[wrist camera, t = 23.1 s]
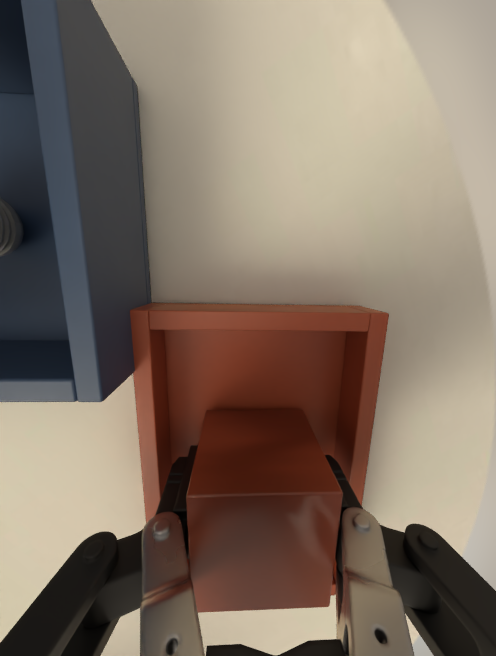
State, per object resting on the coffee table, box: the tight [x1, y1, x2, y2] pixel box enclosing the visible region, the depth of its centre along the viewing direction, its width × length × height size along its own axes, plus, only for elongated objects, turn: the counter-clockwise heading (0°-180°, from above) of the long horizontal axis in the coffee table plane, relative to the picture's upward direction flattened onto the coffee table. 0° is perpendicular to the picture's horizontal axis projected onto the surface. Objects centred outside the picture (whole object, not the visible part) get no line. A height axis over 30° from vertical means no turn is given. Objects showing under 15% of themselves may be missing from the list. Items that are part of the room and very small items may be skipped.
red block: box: [186, 410, 343, 612], centre depth 11 cm, size 5×5×5 cm
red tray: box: [130, 303, 389, 595], centre depth 13 cm, size 11×16×2 cm
